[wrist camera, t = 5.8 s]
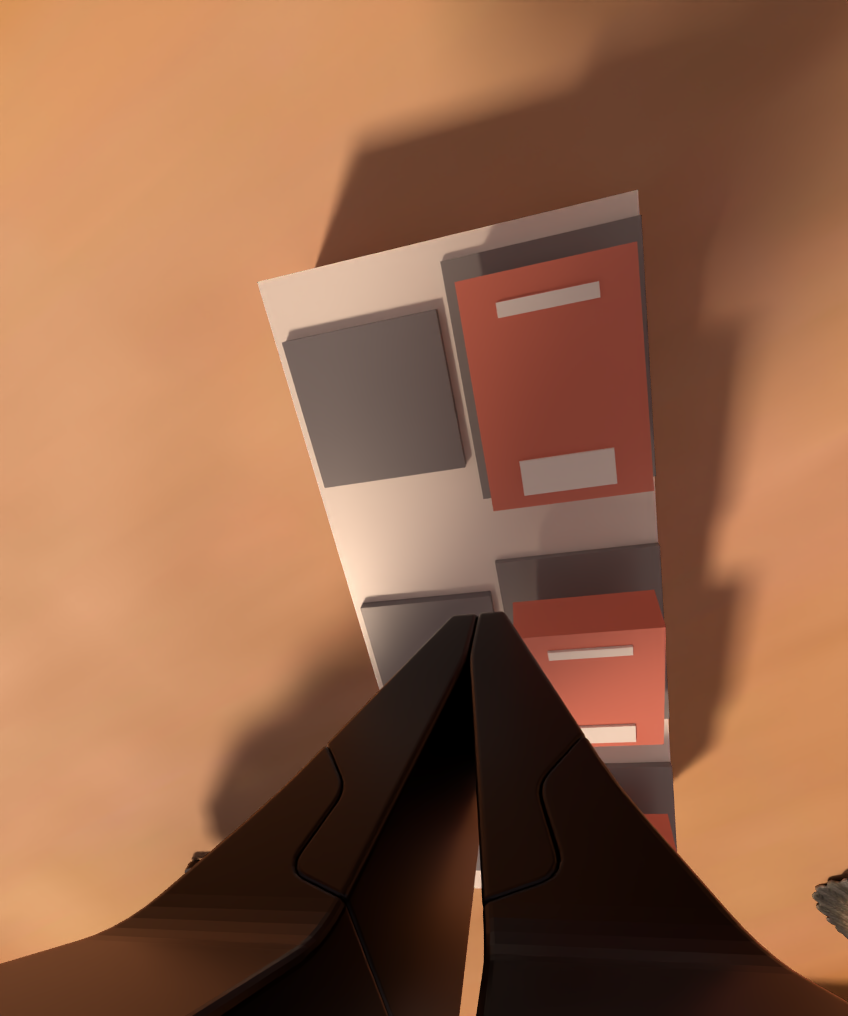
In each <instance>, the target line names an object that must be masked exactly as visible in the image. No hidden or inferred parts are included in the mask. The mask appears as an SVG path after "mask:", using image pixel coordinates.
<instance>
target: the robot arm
mask: <svg viewBox="0 0 848 1016" xmlns="http://www.w3.org/2000/svg"><path fill="white" fill-rule="evenodd" d="M478 849H479V851H480V869H481V888H482V904H483V924H484V965H483V973H482V980H481V986H480V993H479V1000H478V1007H477V1014H476V1016H848V1002H847V1001H845V1000H844V999H842V998H840V997H838V996H837V995H835V994H833V993H831V992H830V991H828V990H826V989H824V988H823V987H821V986H819V985H817V984H816V983H814V982H812V981H810V980H808V979H807V978H805V977H803V976H802V975H800V974H798V973H797V972H795V971H794V970H792V969H791V968H789V967H788V966H787V965H785V964H784V963H783V962H781V961H780V960H779V959H777V958H776V957H775V956H774V955H772V954H771V953H770V952H769V951H768V950H767V949H765V948H764V947H763V946H762V945H761V944H760V943H758V942H757V941H756V940H755V939H754V938H753V937H752V936H751V935H750V934H749V933H748V932H747V931H746V930H745V929H744V928H743V927H742V926H741V924H740V923H739V922H738V921H737V920H736V919H735V918H734V917H733V916H732V915H731V913H730V912H729V911H728V910H727V909H726V908H725V907H724V906H723V905H722V903H721V902H720V901H719V900H718V899H717V898H716V897H715V895H714V894H713V893H712V892H711V891H710V890H709V889H708V887H707V886H706V885H705V884H704V883H703V882H702V881H701V879H700V878H699V877H698V876H697V875H696V874H695V873H694V871H693V870H692V869H691V868H690V867H689V866H688V865H687V864H686V862H685V861H684V860H683V859H682V858H681V857H680V856H679V854H678V853H677V852H676V851H675V850H674V849H673V848H672V846H671V845H670V844H669V843H668V842H667V841H666V840H665V838H664V837H663V836H662V835H661V834H660V833H659V832H658V830H657V829H656V828H655V827H654V826H653V825H652V824H651V823H650V821H649V820H648V819H647V818H646V817H645V815H644V814H643V813H642V812H641V811H640V809H639V808H638V807H637V806H636V804H635V803H634V802H633V801H632V800H631V798H630V797H629V796H628V795H627V794H626V792H625V791H624V790H623V789H622V787H621V786H620V785H619V783H618V782H617V781H616V779H615V778H614V776H613V775H612V774H611V772H610V771H609V769H608V768H607V767H606V765H605V764H604V762H603V761H602V760H601V758H600V757H599V755H598V754H597V752H596V751H595V749H594V747H593V746H592V744H591V743H590V741H589V740H588V739H587V738H585V734H584V733H583V731H582V730H581V728H580V727H579V725H578V724H577V722H576V720H575V719H574V717H573V716H572V714H571V713H570V711H569V710H568V708H567V707H566V705H565V704H564V702H563V701H562V699H561V698H560V696H559V694H558V693H557V691H556V690H555V688H554V687H553V685H552V684H551V682H550V681H549V679H548V678H547V676H546V675H545V673H544V672H543V670H542V668H541V667H540V665H539V664H538V662H537V661H536V659H535V658H534V656H533V655H532V653H531V652H530V650H529V649H528V647H527V645H526V644H525V642H524V641H523V639H522V638H521V636H520V635H519V633H518V632H517V630H516V629H515V627H514V626H513V624H512V623H511V621H510V619H509V618H508V616H507V615H506V614H505V613H504V612H502V611H498V612H487V613H481V614H480V615H479V616H477V615H476V614H464V615H454V616H452V617H451V618H450V619H449V620H448V621H447V622H446V623H445V624H444V625H443V626H442V627H441V628H440V629H439V630H438V631H437V632H436V633H435V634H434V635H433V636H432V637H431V638H430V639H429V640H428V641H427V642H426V643H425V644H424V645H423V646H422V647H421V648H420V649H419V650H418V651H417V652H416V653H415V654H414V655H413V656H412V658H411V659H410V660H409V661H408V662H407V663H406V664H405V665H404V666H403V667H402V668H401V669H400V670H399V671H398V672H397V673H396V674H395V675H394V676H393V677H392V678H391V679H390V680H389V681H388V682H387V683H386V684H385V685H384V686H383V687H382V688H381V689H380V690H379V691H378V692H377V693H376V694H375V695H374V696H373V697H372V698H371V699H370V700H369V702H368V703H367V704H366V705H365V706H364V707H363V708H362V709H361V710H360V711H359V712H358V713H357V714H356V715H355V716H354V717H353V718H352V719H351V720H350V721H349V722H348V723H347V724H346V725H345V726H344V727H343V728H342V729H341V730H340V731H339V732H338V733H337V734H336V735H335V736H334V737H333V738H332V739H331V740H330V741H329V742H328V747H323V748H322V749H321V750H320V751H319V752H318V753H317V754H316V755H315V756H314V758H313V759H312V760H311V761H310V762H309V763H308V764H307V765H306V766H305V767H304V768H303V769H302V770H301V771H299V772H298V773H297V774H296V775H295V776H294V777H293V778H292V779H291V780H290V781H289V782H288V783H287V784H286V785H285V786H284V787H283V788H282V789H281V790H280V791H279V792H278V793H277V794H276V795H274V796H273V797H272V798H271V799H270V800H269V801H268V802H267V803H266V804H264V805H263V806H262V807H261V808H260V809H259V810H258V811H257V812H255V813H254V814H253V815H252V816H251V817H250V818H249V819H248V820H247V821H245V822H244V823H243V824H242V825H241V826H240V827H238V828H237V829H236V830H235V831H234V832H233V833H231V834H230V835H229V836H228V837H227V838H226V839H224V840H223V841H222V842H221V843H220V844H219V845H217V846H216V847H215V848H214V849H213V850H212V851H211V852H209V853H208V854H207V855H206V856H205V857H204V858H202V859H201V860H200V861H192V862H190V863H189V864H188V866H187V868H186V870H185V874H184V875H183V876H181V877H180V878H179V879H178V880H177V881H176V882H175V883H173V884H172V885H171V886H170V887H169V888H168V889H166V890H165V891H164V892H163V893H162V894H160V895H159V896H158V897H157V898H155V899H154V900H153V901H152V902H150V903H149V904H148V905H147V906H145V907H144V908H143V909H141V910H140V911H138V912H137V913H135V914H134V915H132V916H131V917H129V918H128V919H126V920H124V921H122V922H120V923H119V924H117V925H115V926H113V927H111V928H109V929H107V930H105V931H102V932H100V933H98V934H96V935H93V936H90V937H88V938H85V939H82V940H79V941H75V942H72V943H69V944H65V945H62V946H59V947H55V948H52V949H48V950H45V951H42V952H38V953H35V954H32V955H28V956H25V957H22V958H18V959H15V960H12V961H8V962H5V963H1V964H0V1016H459V1013H460V1005H461V996H462V987H463V979H464V970H465V961H466V953H467V944H468V935H469V927H470V918H471V909H472V901H473V892H474V883H475V875H476V866H477V857H478Z"/></svg>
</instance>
